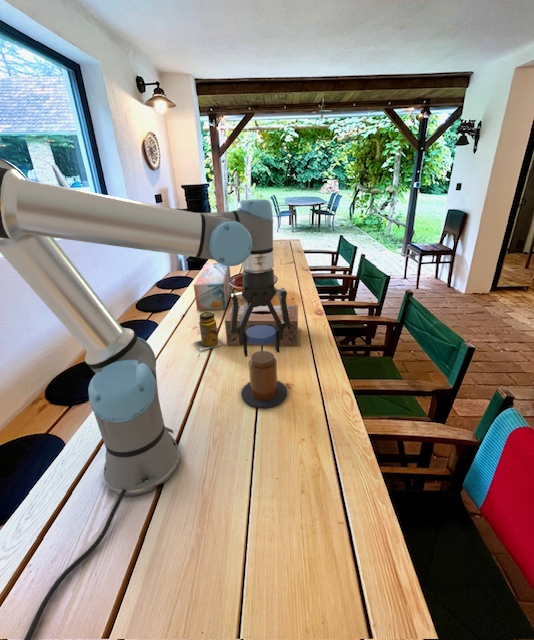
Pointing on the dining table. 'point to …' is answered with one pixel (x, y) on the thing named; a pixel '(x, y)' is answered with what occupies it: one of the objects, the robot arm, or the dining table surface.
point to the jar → (263, 375)
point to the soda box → (212, 287)
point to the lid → (261, 334)
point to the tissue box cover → (264, 317)
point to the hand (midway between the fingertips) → (261, 352)
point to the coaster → (264, 403)
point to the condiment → (208, 331)
